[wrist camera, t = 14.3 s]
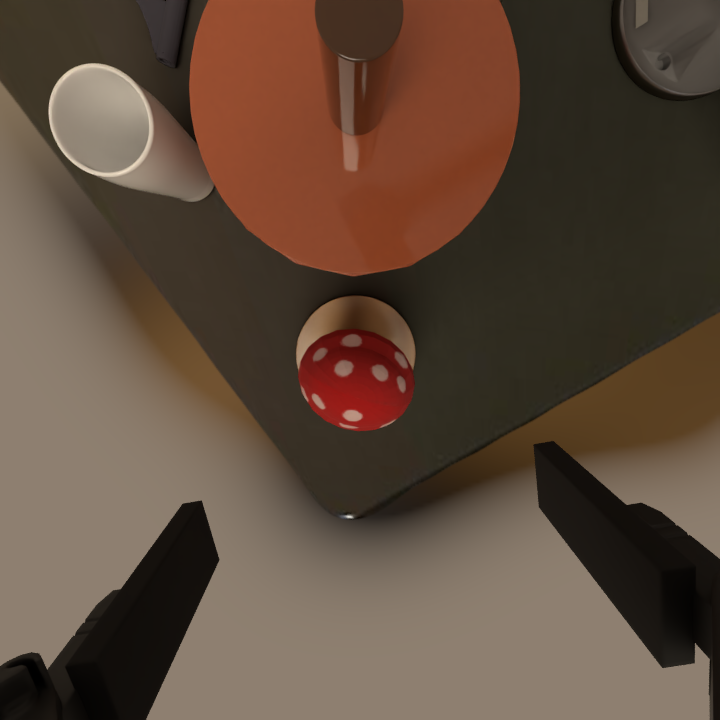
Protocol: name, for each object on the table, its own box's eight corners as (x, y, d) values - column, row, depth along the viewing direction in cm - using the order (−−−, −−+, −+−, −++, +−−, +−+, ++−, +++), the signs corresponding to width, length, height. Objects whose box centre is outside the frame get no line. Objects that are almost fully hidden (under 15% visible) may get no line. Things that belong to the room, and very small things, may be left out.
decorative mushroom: (299, 376, 44) (274, 430, 29) (324, 302, 42) (310, 319, 28) (384, 404, 45) (401, 470, 30) (412, 333, 43) (443, 365, 29)
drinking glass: (175, 220, 41) (80, 194, 27) (144, 153, 40) (24, 85, 25) (236, 195, 41) (172, 154, 26) (207, 126, 39) (122, 42, 25)
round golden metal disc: (404, 285, 43) (406, 285, 42) (421, 398, 46) (423, 401, 45) (285, 306, 43) (284, 307, 42) (310, 418, 46) (309, 421, 45)
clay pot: (432, 56, 38) (608, -402, 12) (455, 254, 43) (625, 232, 16) (241, 92, 39) (11, -280, 12) (283, 285, 43) (176, 313, 17)
